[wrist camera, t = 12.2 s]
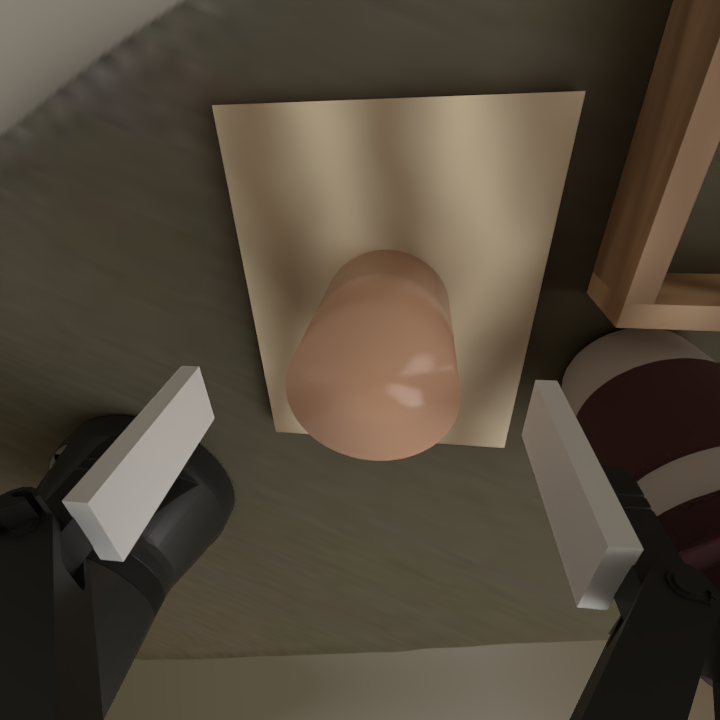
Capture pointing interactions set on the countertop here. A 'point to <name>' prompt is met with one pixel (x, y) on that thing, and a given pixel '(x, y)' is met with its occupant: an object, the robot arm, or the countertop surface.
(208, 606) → the countertop surface
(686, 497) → the coffee cup
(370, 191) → the board
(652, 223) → the cold frame
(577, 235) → the countertop surface
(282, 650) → the countertop surface
